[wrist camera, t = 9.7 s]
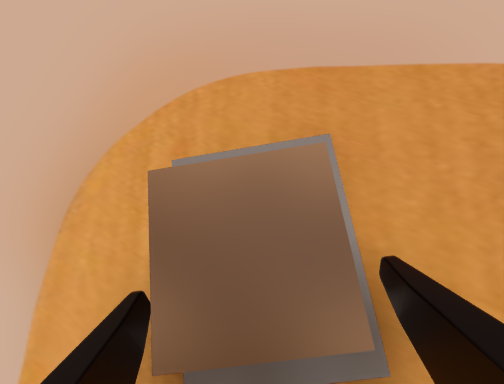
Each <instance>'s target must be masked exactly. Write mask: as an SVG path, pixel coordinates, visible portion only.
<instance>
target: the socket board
mask: <svg viewBox="0 0 504 384" xmlns="http://www.w3.org/2000/svg"><path fill="white" fill-rule="evenodd" d="M322 142H326V146H327V150H328V154H329V159H330V163H331V167H332V171H333V175H334V180H335V184H336V188H337V192H338V196H339V201H340V205H341V209H342V213H343V217H344V221H345V226H346V230H347V234H348V238H349V242H350V247H351V251H352V255H353V259H354V263H355V268H356V272H357V276H358V280H359V284H360V289H361V293H362V297H363V301H364V305H365V309H366V314H367V318H368V322H369V326H370V330H371V335H372V339H373V343H374V347H375V350H372V351H363V352H355V353H346V354H338V355H329V356H321V357H312V358H304V359H295V360H286V361H278V362H269V363H261V364H252V365H244V366H235V367H227V368H218V369H210V370H201V371H192V372H184V373H183V376H184V384H330V383H338V382H347V381H356V380H364V379H373V378H382V377H390V376H391V375H390V371H389V367H388V363H387V359H386V355H385V351H384V348H383V344H382V340H381V336H380V332H379V328H378V324H377V320H376V316H375V312H374V308H373V304H372V300H371V296H370V292H369V288H368V284H367V280H366V276H365V272H364V268H363V264H362V260H361V256H360V252H359V248H358V244H357V240H356V236H355V232H354V228H353V224H352V220H351V216H350V212H349V208H348V204H347V200H346V196H345V192H344V188H343V184H342V180H341V176H340V172H339V168H338V164H337V160H336V156H335V152H334V148H333V144H332V140H331V136H330V134H325V135H319V136H313V137H307V138H301V139H295V140H290V141H284V142H278V143H272V144H266V145H260V146H254V147H248V148H242V149H236V150H230V151H224V152H218V153H212V154H206V155H200V156H194V157H188V158H183V159H177V160H172V167H175V166H181V165H187V164H193V163H200V162H206V161H212V160H218V159H224V158H230V157H236V156H242V155H249V154H255V153H261V152H267V151H273V150H279V149H285V148H291V147H298V146H304V145H310V144H316V143H322Z"/></svg>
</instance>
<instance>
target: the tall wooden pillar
mask: <svg viewBox="0 0 504 384" xmlns="http://www.w3.org/2000/svg"><path fill="white" fill-rule="evenodd" d="M148 206H149V253H150V300H151V347H152V376H158V375H167V374H175V373H184V372H192V371H201V370H210V369H218V368H227V367H235V366H244V365H252V364H261V363H269V362H278V361H286V360H295V359H304V358H312V357H321V356H329V355H338V354H346V353H355V352H363V351H372V350H375V347H374V343H373V339H372V335H371V330H370V326H369V322H368V318H367V314H366V309H365V305H364V301H363V297H362V293H361V289H360V284H359V280H358V276H357V272H356V268H355V263H354V259H353V255H352V251H351V247H350V242H349V238H348V234H347V230H346V226H345V221H344V217H343V213H342V209H341V205H340V201H339V196H338V192H337V188H336V184H335V180H334V175H333V171H332V167H331V163H330V159H329V154H328V150H327V146H326V142H322V143H316V144H310V145H304V146H298V147H291V148H285V149H279V150H273V151H267V152H261V153H255V154H249V155H242V156H236V157H230V158H224V159H218V160H212V161H206V162H200V163H193V164H187V165H181V166H175V167H169V168H163V169H157V170H151V171H148Z"/></svg>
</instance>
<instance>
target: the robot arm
mask: <svg viewBox="0 0 504 384" xmlns="http://www.w3.org/2000/svg"><path fill="white" fill-rule="evenodd" d="M379 275H380V279H381V281H382V283H383V286H384V288H385V290H386V292H387V295H388V297H389V299H390V301H391V304H392V306H393V308H394V310H395V313H396V315H397V317H398V319H399V321H400V323H401V325H402V327H403V329H404V330H405V332H406V334H407V336H408V337H409V339H410V341H411V343H412V344H413V346H414V348H415V350H416V351H417V353H418V355H419V357H420V358H421V360H422V362H423V364H424V366H425V367H426V369H427V371H428V373H429V374H430V376H431V378H432V380H433V381H434V383H435V384H504V323H502V322H500V321H499V320H497V319H496V318H494V317H492V316H491V315H489V314H488V313H486V312H484V311H483V310H481V309H480V308H478V307H476V306H475V305H473V304H472V303H470V302H468V301H467V300H465V299H463V298H462V297H460V296H459V295H457V294H455V293H454V292H452V291H451V290H449V289H447V288H446V287H444V286H443V285H441V284H439V283H438V282H436V281H435V280H433V279H431V278H430V277H428V276H426V275H425V274H423V273H422V272H420V271H418V270H417V269H415V268H414V267H412V266H410V265H409V264H407V263H406V262H404V261H402V260H401V259H399V258H398V257H396V256H385V257H382V259H381V264H380V271H379ZM150 315H151V303H150V301H149V300H148V298H147V296H146V294H145V293H144V292H143V291H134V292H131V293H130V294H129V295H128V296H127V297H126V298H125V299H124V300H123V301H122V302H121V303H120V304H119V305H118V306H117V307H116V308H115V309H114V310H113V311H112V312H111V313H110V314H109V315H108V316H107V317H106V318H105V319H104V320H103V321H102V322H101V323H100V324H99V325H98V326H97V327H96V328H95V329H94V330H93V331H92V332H91V333H90V334H89V335H88V336H87V337H86V338H85V339H84V340H83V341H82V342H81V343H80V344H79V345H78V346H77V347H76V348H75V349H74V350H73V351H72V352H71V353H70V354H69V355H68V356H67V357H66V358H65V359H64V360H63V361H62V362H61V363H60V364H59V365H58V366H57V367H56V368H55V369H54V370H53V371H52V372H51V373H50V374H49V375H48V376H47V377H46V378H45V379H44V380H43V381H42V382H41V383H40V384H135V382H136V379H137V375H138V371H139V368H140V364H141V361H142V357H143V353H144V348H145V343H146V337H147V332H148V326H149V320H150Z"/></svg>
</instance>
